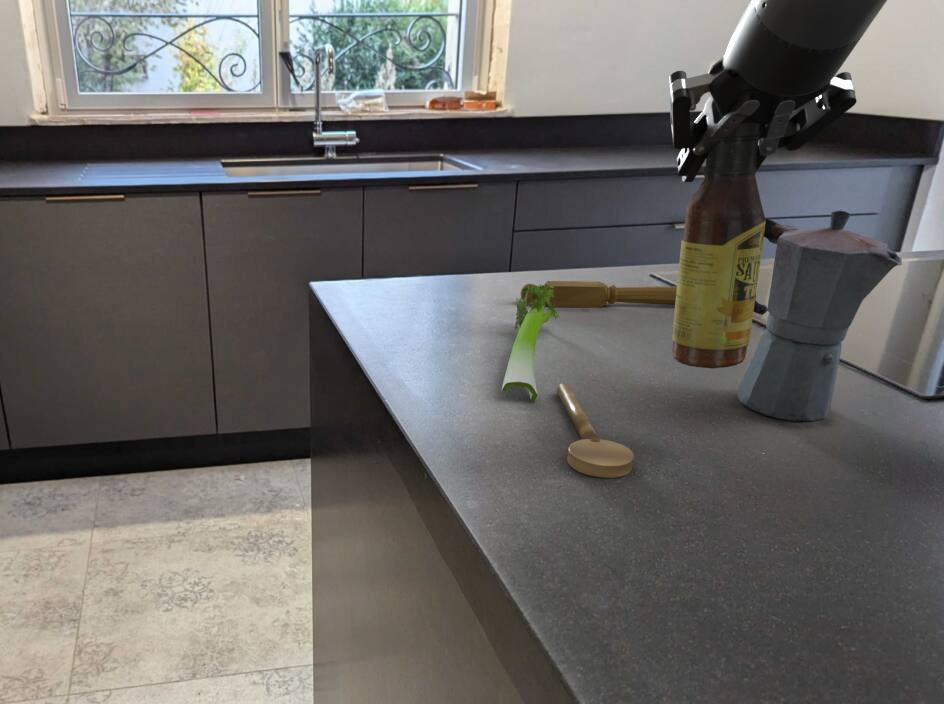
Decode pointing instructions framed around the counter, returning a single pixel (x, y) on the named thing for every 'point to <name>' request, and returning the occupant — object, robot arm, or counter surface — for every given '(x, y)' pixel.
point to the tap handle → (603, 294)
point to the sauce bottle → (720, 256)
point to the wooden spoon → (593, 444)
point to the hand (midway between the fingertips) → (711, 173)
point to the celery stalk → (528, 339)
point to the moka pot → (810, 315)
